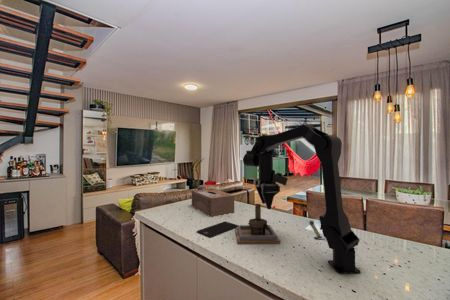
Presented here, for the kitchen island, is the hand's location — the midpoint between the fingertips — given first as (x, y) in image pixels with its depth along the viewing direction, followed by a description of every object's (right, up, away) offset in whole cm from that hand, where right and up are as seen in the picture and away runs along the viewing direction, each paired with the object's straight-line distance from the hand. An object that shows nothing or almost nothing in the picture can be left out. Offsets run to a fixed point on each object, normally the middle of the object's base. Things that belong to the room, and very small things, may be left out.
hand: (266, 206), depth 88 cm
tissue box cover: (-24, -13, +41) cm, 49 cm away
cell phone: (-19, -13, +9) cm, 25 cm away
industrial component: (-4, -12, +1) cm, 12 cm away
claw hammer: (+24, -13, +7) cm, 28 cm away
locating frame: (-4, -11, +1) cm, 12 cm away
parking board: (-4, -12, +1) cm, 13 cm away
